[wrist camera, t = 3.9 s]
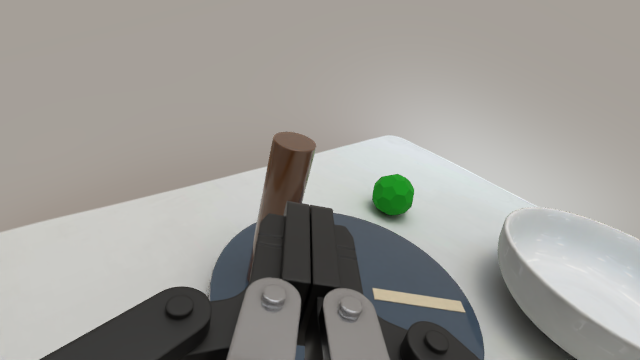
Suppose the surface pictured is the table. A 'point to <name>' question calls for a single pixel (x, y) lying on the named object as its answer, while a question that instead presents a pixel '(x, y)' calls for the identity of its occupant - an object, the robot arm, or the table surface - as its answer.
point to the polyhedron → (393, 194)
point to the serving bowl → (574, 281)
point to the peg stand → (372, 255)
